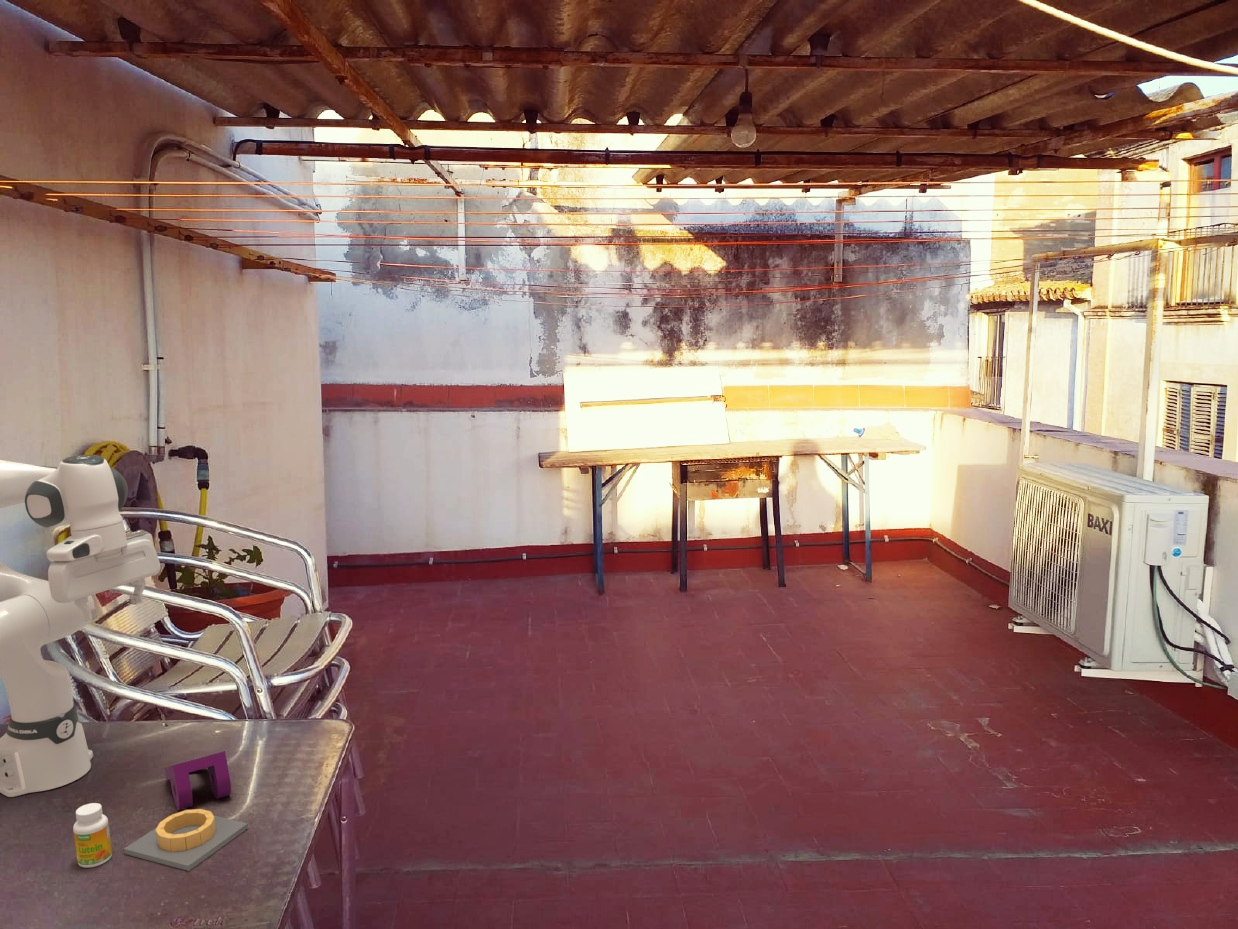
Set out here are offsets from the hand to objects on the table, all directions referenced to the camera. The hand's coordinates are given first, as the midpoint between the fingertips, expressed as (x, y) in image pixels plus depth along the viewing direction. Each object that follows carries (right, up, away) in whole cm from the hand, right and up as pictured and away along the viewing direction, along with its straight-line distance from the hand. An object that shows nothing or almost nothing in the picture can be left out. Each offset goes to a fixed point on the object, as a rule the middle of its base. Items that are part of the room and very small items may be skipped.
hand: (114, 611), depth 182 cm
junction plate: (+18, -40, -8) cm, 45 cm away
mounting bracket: (+11, -38, +10) cm, 40 cm away
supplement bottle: (+4, -42, -13) cm, 44 cm away
